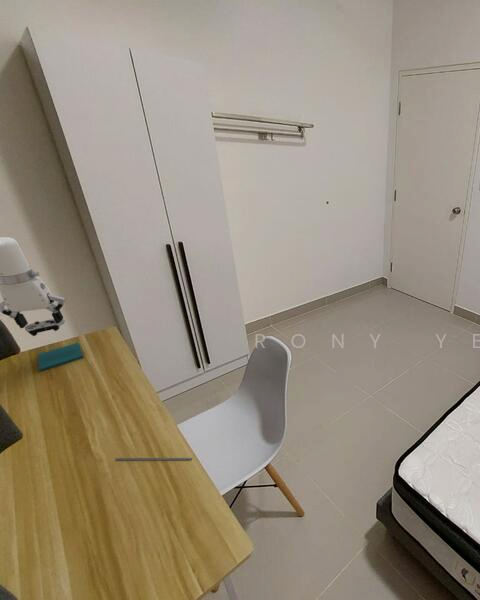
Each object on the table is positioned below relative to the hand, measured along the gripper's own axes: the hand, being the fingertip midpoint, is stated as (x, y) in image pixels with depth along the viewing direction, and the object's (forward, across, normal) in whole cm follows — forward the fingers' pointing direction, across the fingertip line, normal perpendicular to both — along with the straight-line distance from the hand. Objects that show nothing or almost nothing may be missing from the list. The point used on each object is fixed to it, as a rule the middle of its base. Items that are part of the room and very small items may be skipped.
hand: (42, 323), depth 111 cm
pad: (+15, 0, 0) cm, 15 cm away
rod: (+15, -38, +59) cm, 72 cm away
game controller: (+3, 0, 0) cm, 3 cm away
